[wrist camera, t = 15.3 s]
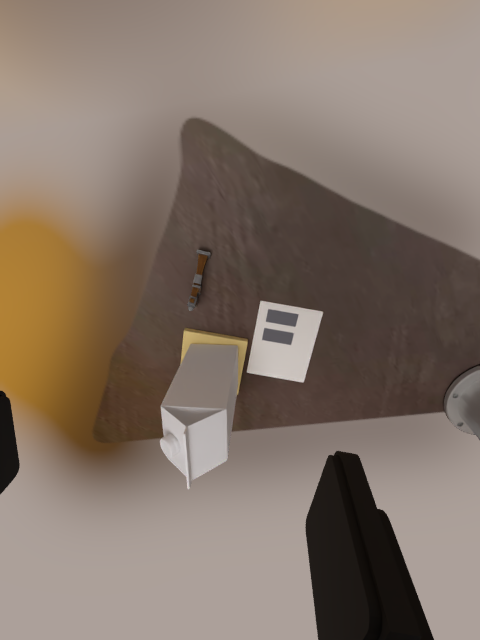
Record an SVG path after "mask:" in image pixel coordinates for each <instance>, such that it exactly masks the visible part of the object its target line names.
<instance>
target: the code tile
mask: <svg viewBox="0 0 480 640" xmlns="http://www.w3.org/2000/svg"><path fill="white" fill-rule="evenodd" d="M322 315H323V311H317V310H311V309H306V308H300V307H294V306H288V305H283V304H277V303H271V302H266V301H260V306H259V311H258V317H257V322H256V327H255V332H254V337H253V342H252V348H251V353H250V358H249V363H248V368H247V373H252V374H258V375H264V376H269V377H275V378H281V379H286V380H292V381H298V382H303V383H304V379H305V376H306V372H307V368H308V365H309V361H310V358H311V354H312V350H313V347H314V343H315V340H316V336H317V333H318V329H319V325H320V322H321V318H322Z"/></svg>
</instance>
